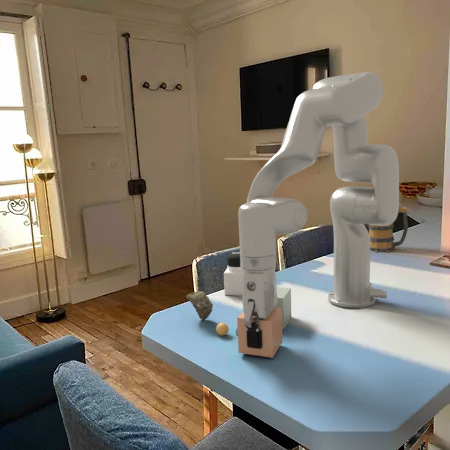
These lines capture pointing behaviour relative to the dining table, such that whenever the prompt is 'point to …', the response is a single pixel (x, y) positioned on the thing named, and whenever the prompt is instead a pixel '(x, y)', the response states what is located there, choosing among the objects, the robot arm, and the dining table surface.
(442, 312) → the dining table surface
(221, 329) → the marble amber
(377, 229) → the mug
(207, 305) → the rock
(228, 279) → the medicine bottle
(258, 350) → the salmon pink box
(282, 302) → the sage green cube
